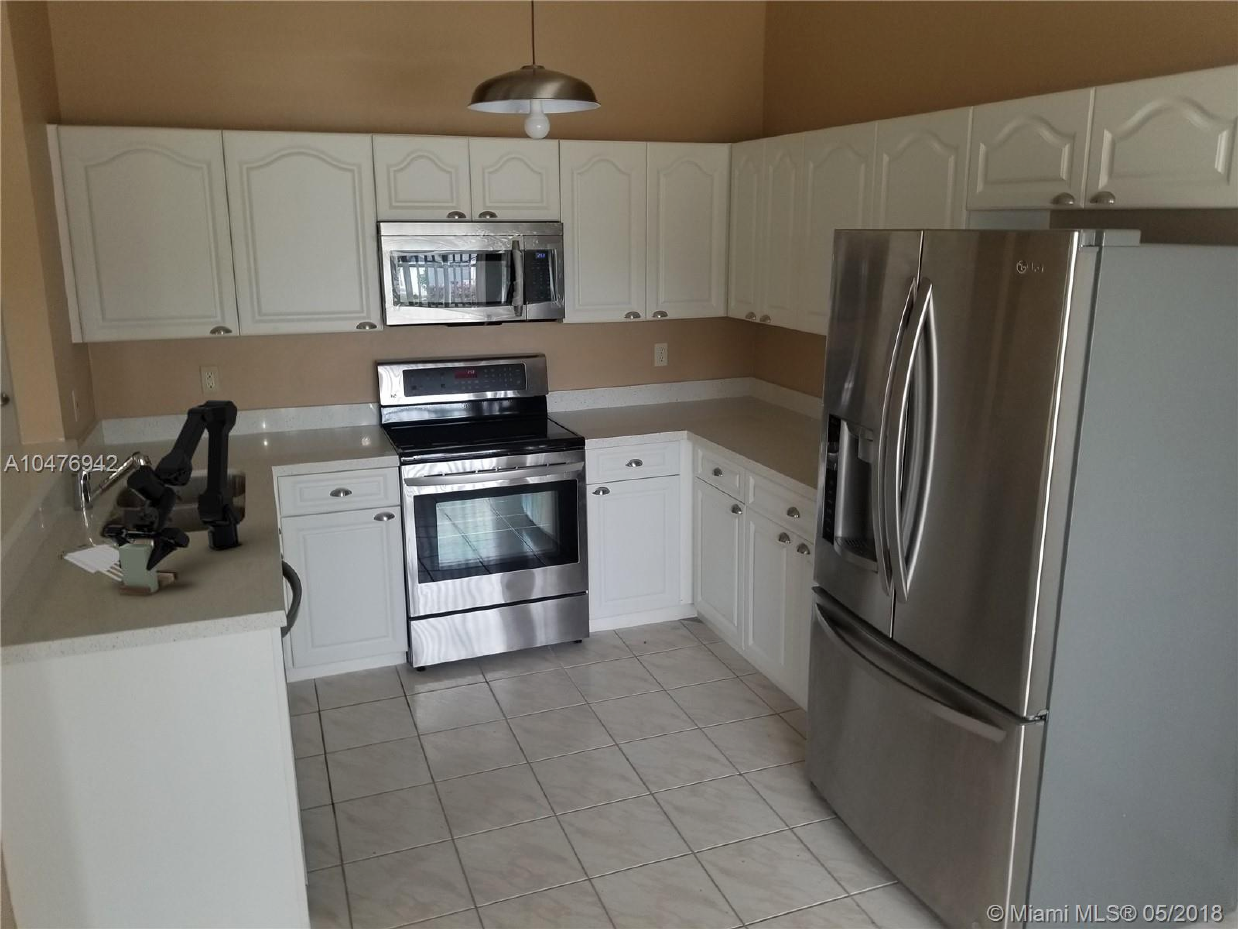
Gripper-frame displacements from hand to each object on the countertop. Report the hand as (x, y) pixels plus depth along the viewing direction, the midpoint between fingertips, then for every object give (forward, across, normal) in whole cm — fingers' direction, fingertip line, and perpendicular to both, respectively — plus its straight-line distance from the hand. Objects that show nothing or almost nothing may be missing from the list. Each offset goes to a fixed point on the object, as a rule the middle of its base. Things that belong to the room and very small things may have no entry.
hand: (134, 569), depth 214 cm
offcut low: (-1, 0, +9) cm, 9 cm away
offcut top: (-1, 0, +8) cm, 8 cm away
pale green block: (+3, 0, +5) cm, 6 cm away
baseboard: (-7, -21, +17) cm, 28 cm away
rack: (+2, 0, +8) cm, 8 cm away
